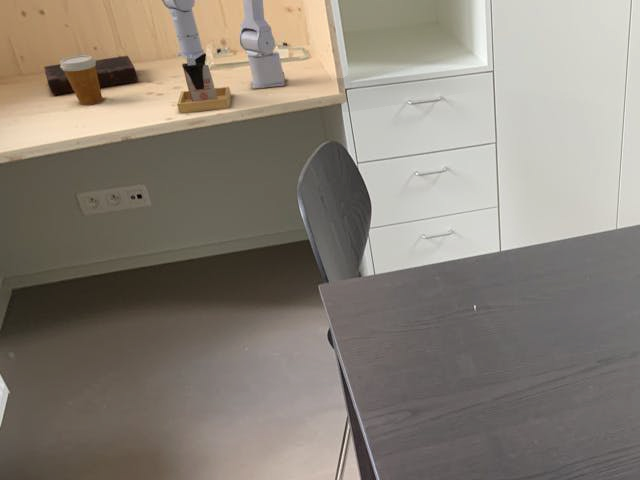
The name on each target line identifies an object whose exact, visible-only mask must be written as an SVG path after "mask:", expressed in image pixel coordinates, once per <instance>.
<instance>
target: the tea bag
mask: <svg viewBox="0 0 640 480" xmlns="http://www.w3.org/2000/svg"><path fill="white" fill-rule="evenodd" d="M182 69H183V74H184V78H185V82H186V85H187V89H188V90H187V91H189V93H190V97H191V100H192V102H196V101H206V100H215V99H217V95H216V91H215V88H216V87H215V84H214V80H213V77H212V73H211V70H210V67H209V64H205V65H203V80H204V89H199V90H196V88H195V86H194V84H193V82H192V80H191V78H190V76H189V75H188V73H187V72H186V71H185V70H184V68H183V67H182Z"/></svg>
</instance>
